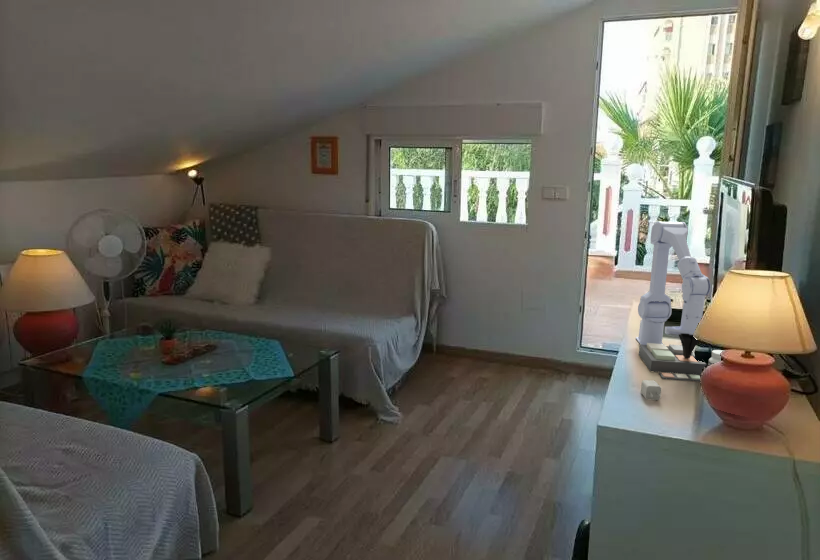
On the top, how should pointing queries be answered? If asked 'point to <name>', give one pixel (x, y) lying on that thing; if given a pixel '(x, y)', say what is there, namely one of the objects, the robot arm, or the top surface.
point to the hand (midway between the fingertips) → (686, 357)
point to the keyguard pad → (670, 363)
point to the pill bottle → (715, 357)
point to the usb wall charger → (650, 389)
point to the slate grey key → (676, 349)
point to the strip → (680, 377)
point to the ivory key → (656, 347)
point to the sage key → (663, 355)
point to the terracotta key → (682, 358)
